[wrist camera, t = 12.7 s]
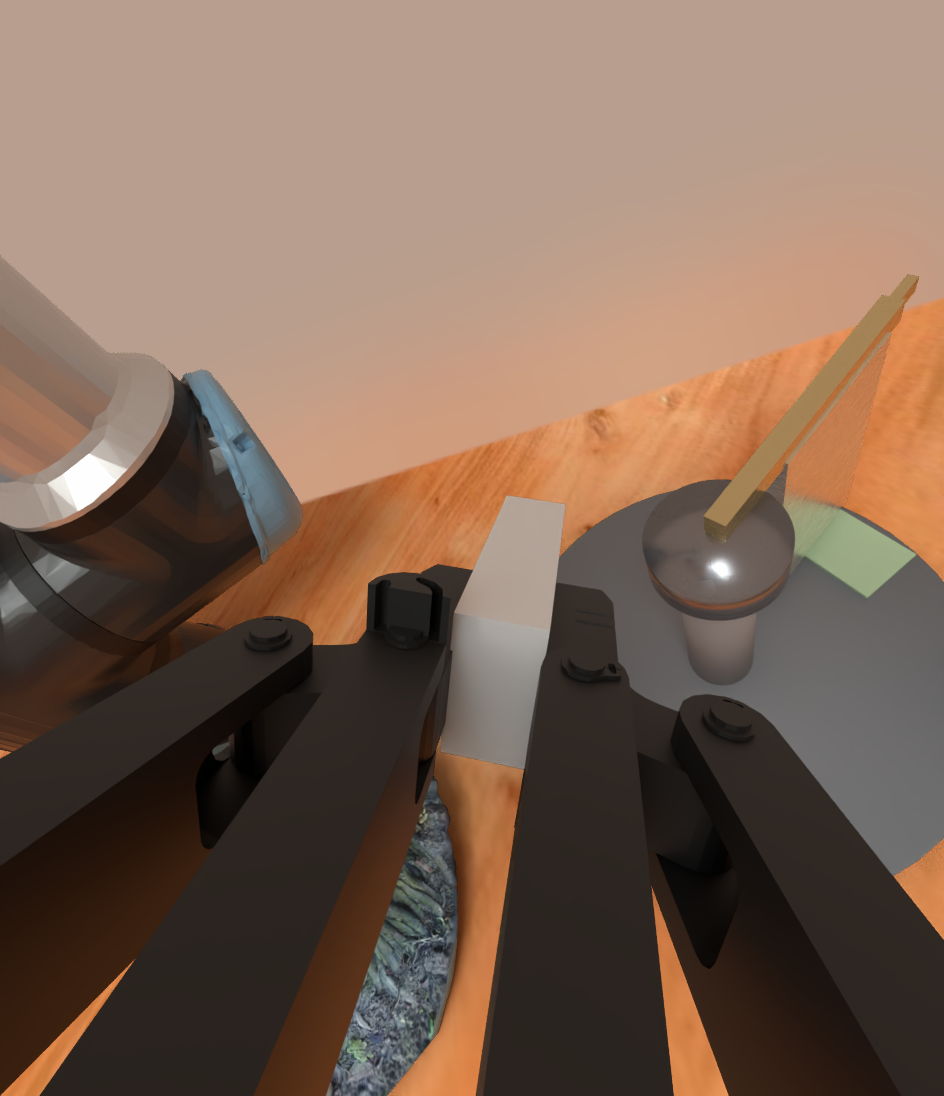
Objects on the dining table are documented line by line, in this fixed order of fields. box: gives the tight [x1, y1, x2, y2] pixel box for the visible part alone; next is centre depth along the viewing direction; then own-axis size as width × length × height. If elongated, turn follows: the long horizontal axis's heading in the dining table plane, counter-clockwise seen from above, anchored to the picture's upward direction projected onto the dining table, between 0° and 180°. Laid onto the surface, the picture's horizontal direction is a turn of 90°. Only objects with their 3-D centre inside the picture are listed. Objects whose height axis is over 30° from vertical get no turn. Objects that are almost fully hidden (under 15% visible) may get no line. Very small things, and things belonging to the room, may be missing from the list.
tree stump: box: [212, 742, 458, 1096], centre depth 34 cm, size 18×20×18 cm
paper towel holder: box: [556, 490, 944, 876], centre depth 33 cm, size 26×26×12 cm
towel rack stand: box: [642, 274, 919, 621], centre depth 31 cm, size 19×6×14 cm, turn 135°
